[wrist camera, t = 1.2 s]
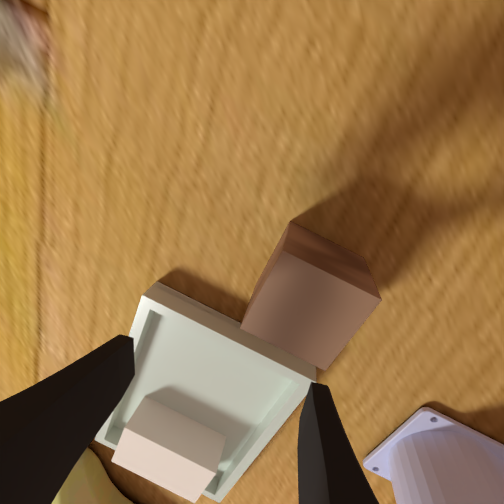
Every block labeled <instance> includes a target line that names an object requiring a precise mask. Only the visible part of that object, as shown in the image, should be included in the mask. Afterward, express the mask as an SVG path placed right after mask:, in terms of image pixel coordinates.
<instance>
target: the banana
mask: <svg viewBox="0 0 504 504" xmlns="http://www.w3.org/2000/svg"><path fill="white" fill-rule="evenodd" d="M52 504H134V503H133V502H131V501H130V500H129V499H127V498H126V497H125V496H123V495H122V494H121V493H120V492H119V490H118V489H117V488H116V487H115V486H114V485H113V483H112V482H111V480H110V479H109V477H108V475H107V473H106V471H105V469H104V467H103V465H102V463H101V462H100V460H99V458H98V457H97V456H96V455H95V453H94V452H93V451H92V450H91V449H89V448H88V447H87V448H86V450H85V451H84V453H83V454H82V455H81V457H80V458H79V460H78V461H77V463H76V464H75V466H74V467H73V469H72V470H71V472H70V474H69V475H68V477H67V479H66V480H65V482H64V484H63V485H62V487H61V489H60V490H59V492H58V494H57V495H56V497H55V499H54V500H53V502H52Z"/></svg>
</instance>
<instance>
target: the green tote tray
mask: <svg viewBox="0 0 504 504" xmlns="http://www.w3.org/2000/svg"><path fill="white" fill-rule="evenodd" d="M241 324H242V323H240V322H238V321H236V320H234V319H232V318H230V317H228V316H226V315H224V314H222V313H220V312H218V311H216V310H214V309H212V308H210V307H208V306H206V305H204V304H202V303H200V302H198V301H196V300H194V299H192V298H190V297H188V296H186V295H184V294H182V293H180V292H178V291H176V290H174V289H172V288H170V287H168V286H166V285H164V284H162V283H160V282H158V281H156V282H155V283H154V284H153V285H152V286H151V287H150V288H149V289H148V290H147V291H146V292H145V293H144V294H143V295H142V297H141V300H140V303H139V306H138V309H137V312H136V315H135V318H134V322H133V325H132V328H131V331H130V334H129V337H132V338H134V360H135V376H134V378H133V379H132V381H131V383H130V385H129V387H128V389H127V390H126V392H125V394H124V396H123V397H122V399H121V401H120V402H119V404H118V405H117V406H116V408H115V409H114V411H113V412H112V413H111V415H110V416H109V418H108V419H107V421H106V422H105V423H104V425H103V426H102V427H101V429H100V430H99V432H98V433H97V434H96V437H95V441H97V442H99V443H101V444H103V445H105V446H107V447H109V448H111V449H113V450H116V448H117V445H118V443H119V440H120V438H121V435H122V433H123V430H124V427H125V426H126V424H127V423H128V421H129V420H130V418H131V417H132V415H133V413H134V412H135V410H136V409H137V407H138V406H139V404H140V402H141V401H142V399H143V398H144V396H147V397H149V398H151V399H153V400H155V401H157V402H159V403H161V404H163V405H165V406H167V407H169V408H170V409H172V410H174V411H176V412H178V413H180V414H182V415H184V416H186V417H188V418H190V419H192V420H194V421H196V422H198V423H200V424H202V425H204V426H206V427H208V428H210V429H212V430H214V431H216V432H218V433H220V434H222V435H224V436H226V440H225V444H224V447H223V451H222V455H221V458H220V462H219V465H218V469H217V472H216V474H215V476H214V477H213V479H212V480H211V481H210V483H209V484H208V486H207V487H206V488H205V490H204V491H203V492H202V494H203V495H205V496H207V497H209V498H211V499H213V500H215V501H217V502H219V503H220V502H221V500H222V499H223V498H224V497H225V496H226V494H227V493H228V492H229V491H230V489H231V488H232V487H233V486H234V484H235V483H236V482H237V481H238V479H239V478H240V477H241V476H242V474H243V473H244V472H245V471H246V469H247V468H248V467H249V466H250V464H251V463H252V462H253V461H254V459H255V458H256V457H257V456H258V454H259V453H260V452H261V451H262V449H263V448H264V447H265V446H266V444H267V443H268V442H269V441H270V440H271V438H272V437H273V436H274V435H275V433H276V432H277V431H278V430H279V428H280V427H281V426H282V425H283V423H284V422H285V421H286V420H287V418H288V417H289V416H290V415H291V413H292V412H293V411H294V410H295V408H296V407H297V406H298V405H299V403H300V402H301V401H302V400H303V398H304V397H305V396H306V395H307V393H308V390H309V387H310V384H311V382H315V383H316V366H314V365H312V364H310V363H308V362H306V361H304V360H302V359H300V358H298V357H296V356H294V355H292V354H290V353H288V352H286V351H284V350H282V349H280V348H278V347H276V346H274V345H272V344H270V343H268V342H266V341H264V340H262V339H260V338H258V337H256V336H254V335H252V334H250V333H248V332H246V331H244V330H242V329H240V326H241Z"/></svg>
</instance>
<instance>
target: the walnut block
mask: <svg viewBox="0 0 504 504" xmlns="http://www.w3.org/2000/svg"><path fill="white" fill-rule="evenodd" d="M381 301H382V299H381V297H380V294H379V292H378V290H377V287H376V285H375V283H374V280H373V278H372V276H371V273H370V271H369V269H368V266H367V264H366V262H365V259H364V258H363V257H361V256H359V255H357V254H355V253H353V252H351V251H349V250H347V249H345V248H343V247H341V246H339V245H337V244H335V243H333V242H331V241H329V240H327V239H325V238H323V237H321V236H319V235H317V234H315V233H313V232H311V231H309V230H307V229H305V228H303V227H301V226H299V225H297V224H295V223H293V222H291V221H290V222H289V224H288V226H287V228H286V229H285V231H284V233H283V235H282V237H281V239H280V241H279V243H278V244H277V246H276V248H275V250H274V252H273V254H272V256H271V257H270V259H269V261H268V263H267V265H266V267H265V269H264V270H263V272H262V274H261V276H260V278H259V280H258V282H257V284H256V286H255V289H254V291H253V294H252V297H251V299H250V302H249V305H248V308H247V310H246V313H245V316H244V318H243V321H242V324H241V326H240V329H242V330H244V331H246V332H248V333H250V334H252V335H254V336H256V337H258V338H260V339H262V340H264V341H266V342H268V343H270V344H272V345H274V346H276V347H278V348H280V349H282V350H284V351H286V352H288V353H290V354H292V355H294V356H296V357H298V358H300V359H302V360H304V361H306V362H308V363H310V364H312V365H314V366H316V367H318V368H320V369H322V370H324V371H326V369H327V368H328V367H329V366H330V364H331V363H332V362H333V361H334V359H335V358H336V357H337V356H338V354H339V353H340V352H341V351H342V349H343V348H344V347H345V346H346V344H347V343H348V342H349V341H350V339H351V338H352V337H353V336H354V334H355V333H356V332H357V331H358V329H359V328H360V327H361V326H362V324H363V323H364V322H365V321H366V319H367V318H368V317H369V316H370V314H371V313H372V312H373V311H374V309H375V308H376V307H377V306H378V304H379V303H380V302H381Z"/></svg>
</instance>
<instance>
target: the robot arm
mask: <svg viewBox="0 0 504 504" xmlns="http://www.w3.org/2000/svg"><path fill="white" fill-rule="evenodd" d="M134 376H135V360H134V338H132V337H128V336H124V335H120V334H119V335H118V336H116V337H114V338H113V339H111V340H110V341H108V342H106V343H105V344H103V345H101V346H100V347H98V348H97V349H95V350H93V351H92V352H90V353H88V354H87V355H85V356H84V357H82V358H80V359H79V360H77V361H75V362H74V363H72V364H70V365H69V366H67V367H65V368H64V369H62V370H60V371H58V372H56V373H55V374H53V375H51V376H49V377H47V378H46V379H44V380H42V381H40V382H38V383H37V384H35V385H33V386H31V387H29V388H27V389H25V390H23V391H21V392H19V393H17V394H15V395H13V396H11V397H9V398H7V399H5V400H3V401H1V402H0V504H52V502H53V500H54V499H55V497H56V495H57V494H58V492H59V490H60V489H61V487H62V485H63V484H64V482H65V480H66V479H67V477H68V475H69V474H70V472H71V470H72V469H73V467H74V466H75V464H76V463H77V461H78V460H79V458H80V457H81V455H82V454H83V453H84V451H85V450H86V448H87V447H88V446H89V444H90V443H91V441H92V440H93V439H94V437H95V436H96V434H97V433H98V432H99V430H100V429H101V427H102V426H103V425H104V423H105V422H106V421H107V419H108V418H109V416H110V415H111V413H112V412H113V411H114V409H115V408H116V406H117V405H118V404H119V402H120V401H121V399H122V397H123V396H124V394H125V392H126V390H127V389H128V387H129V385H130V383H131V381H132V379H133V378H134ZM363 465H364V467H365V468H366V469H368V470H370V471H372V472H374V473H376V474H378V475H380V476H382V477H384V478H386V479H388V480H390V481H392V486H393V490H394V494H395V499H396V503H397V504H504V445H503V444H501V443H499V442H497V441H495V440H493V439H491V438H489V437H487V436H485V435H483V434H481V433H479V432H477V431H475V430H473V429H471V428H469V427H467V426H465V425H463V424H461V423H459V422H457V421H455V420H453V419H451V418H449V417H447V416H445V415H443V414H441V413H439V412H437V411H435V410H433V409H431V408H429V407H422V408H421V409H419V410H418V411H417V412H416V413H415V414H414V415H412V416H411V417H410V418H409V419H408V420H407V421H406V422H405V423H404V424H402V425H401V426H400V427H399V428H398V429H397V430H396V431H395V432H394V433H392V434H391V435H390V436H389V437H388V438H387V439H386V440H385V441H383V442H382V443H381V444H380V445H379V446H378V447H377V448H376V449H375V450H373V451H372V452H371V453H370V454H369V455H368V456H367V457H366V458H365V459H364V460H363ZM298 490H299V504H379V502H378V501H377V499H376V497H375V495H374V493H373V491H372V489H371V487H370V485H369V483H368V481H367V479H366V477H365V475H364V473H363V471H362V469H361V467H360V465H359V462H358V460H357V458H356V456H355V454H354V452H353V449H352V447H351V445H350V442H349V440H348V438H347V435H346V433H345V430H344V428H343V425H342V423H341V420H340V418H339V415H338V412H337V410H336V407H335V404H334V401H333V398H332V395H331V392H330V389H329V387H328V386H327V385H323V384H319V383H315V382H311V384H310V387H309V390H308V393H307V396H306V400H305V403H304V406H303V409H302V412H301V416H300V421H299V434H298Z"/></svg>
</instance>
